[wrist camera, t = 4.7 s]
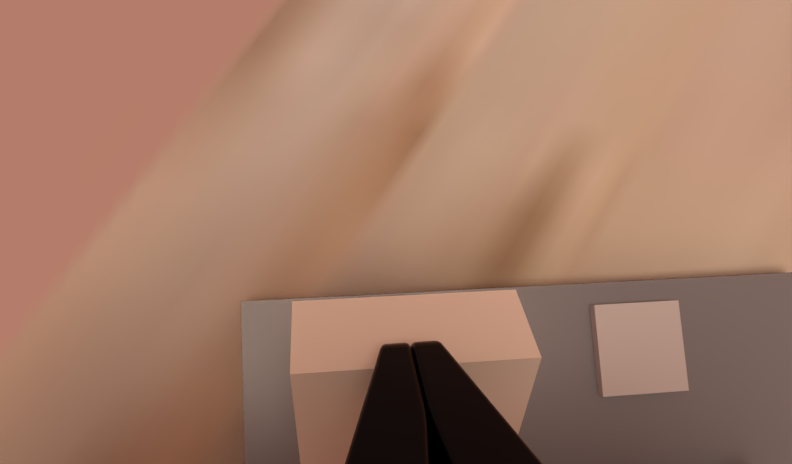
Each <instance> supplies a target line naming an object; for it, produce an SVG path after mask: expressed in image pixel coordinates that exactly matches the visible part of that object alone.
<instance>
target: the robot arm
mask: <svg viewBox="0 0 792 464" xmlns="http://www.w3.org/2000/svg"><path fill="white" fill-rule="evenodd" d="M345 464H542V463H541V461H540V460H539V459H538V458H537V457H536V455H535V454H534V453H533V452H532V451H531V449H530V448H529V447H528V446H527V445H526V443H525V442H524V441H523V440H522V439H521V437H520V436H519V435H518V434H517V433H516V432H515V430H514V429H513V428H512V427H511V426H510V424H509V423H508V422H507V421H506V420H505V418H504V417H503V416H502V415H501V414H500V412H499V411H498V410H497V409H496V408H495V406H494V405H493V404H492V403H491V402H490V400H489V399H488V398H487V397H486V396H485V394H484V393H483V392H482V391H481V390H480V388H479V387H478V386H477V385H476V384H475V383H474V381H473V380H472V379H471V378H470V377H469V375H468V374H467V373H466V372H465V371H464V369H463V368H462V367H461V366H460V365H459V363H458V362H457V361H456V360H455V359H454V357H453V356H452V355H451V354H450V353H449V351H448V350H447V349H446V348H445V347H444V345H443V344H442V343H441V342H439V341H421V342H414V343H413V344H411V346H410V345H409V344H408V343H392V344H384V345H382V346H381V348H380V351H379V354H378V357H377V360H376V364H375V367H374V370H373V373H372V377H371V380H370V383H369V386H368V390H367V393H366V396H365V399H364V403H363V406H362V409H361V412H360V416H359V419H358V422H357V425H356V429H355V432H354V435H353V439H352V442H351V445H350V448H349V452H348V455H347V458H346V461H345Z"/></svg>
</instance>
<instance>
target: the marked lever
mask: <svg viewBox="0 0 792 464" xmlns="http://www.w3.org/2000/svg"><path fill="white" fill-rule="evenodd" d="M421 341H439V342H441V343H442V344H443V345H444V347H445V348H446V349H447V350H448V351H449V353H450V354H451V355H452V356H453V357H454V359H455V360H456V361H457V362H458V363H459V365H460V366H461V367H462V368H463V369H464V371H465V372H466V373H467V374H468V375H469V377H470V378H471V379H472V380H473V381H474V383H475V384H476V385H477V386H478V387H479V388H480V390H481V391H482V392H483V393H484V394H485V396H486V397H487V398H488V399H489V400H490V402H491V403H492V404H493V405H494V406H495V408H496V409H497V410H498V411H499V412H500V414H501V415H502V416H503V417H504V418H505V420H506V421H507V422H508V423H509V424H510V426H511V427H512V428H513V429H514V430H515V432H516V433H517V434H519V431H520V427H521V424H522V421H523V417H524V414H525V411H526V407H527V404H528V401H529V397H530V394H531V391H532V388H533V384H534V381H535V378H536V374H537V371H538V368H539V364H540V361H541V358H542V357H541V355H540V352H539V349H538V347H537V344H536V341H535V339H534V336H533V334H532V331H531V328H530V326H529V323H528V320H527V318H526V315H525V313H524V310H523V307H522V305H521V302H520V299H519V297H518V294H517V291H516V289H514V290H496V291H477V292H458V293H439V294H420V295H401V296H382V297H363V298H344V299H325V300H306V301H292V321H291V354H290V380H291V388H292V397H293V405H294V414H295V422H296V431H297V439H298V448H299V456H300V464H345V461H346V458H347V455H348V452H349V448H350V445H351V442H352V439H353V435H354V432H355V429H356V425H357V422H358V419H359V416H360V412H361V409H362V406H363V403H364V399H365V396H366V393H367V390H368V386H369V383H370V380H371V377H372V373H373V370H374V367H375V364H376V360H377V357H378V354H379V351H380V348H381V346H382V345H384V344H392V343H408V344H409V345H410V346H411V344H413V343H414V342H421Z"/></svg>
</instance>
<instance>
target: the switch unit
mask: <svg viewBox="0 0 792 464" xmlns="http://www.w3.org/2000/svg"><path fill="white" fill-rule="evenodd" d="M514 289H516V291H517V294H518V297H519V299H520V302H521V305H522V307H523V310H524V313H525V315H526V318H527V320H528V323H529V326H530V328H531V331H532V334H533V336H534V339H535V341H536V344H537V347H538V349H539V352H540V355H541V357H542V358H541V361H540V364H539V368H538V371H537V374H536V378H535V381H534V384H533V388H532V391H531V394H530V397H529V401H528V404H527V407H526V411H525V414H524V417H523V421H522V424H521V427H520V431H519V434H518V435H519V436H520V437H521V439H522V440H523V441H524V442H525V443H526V445H527V446H528V447H529V448H530V449H531V451H532V452H533V453H534V454H535V455H536V457H537V458H538V459H539V460H540V461H541V463H542V464H792V273H773V274H754V275H735V276H716V277H697V278H678V279H659V280H640V281H621V282H602V283H583V284H563V285H544V286H525V287H506V288H487V289H468V290H449V291H430V292H411V293H392V294H373V295H354V296H334V297H315V298H296V299H277V300H258V301H241V327H242V376H243V424H244V464H300V456H299V448H298V439H297V431H296V422H295V414H294V405H293V397H292V388H291V380H290V354H291V321H292V301H306V300H325V299H344V298H363V297H382V296H401V295H420V294H439V293H458V292H477V291H496V290H514Z"/></svg>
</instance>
